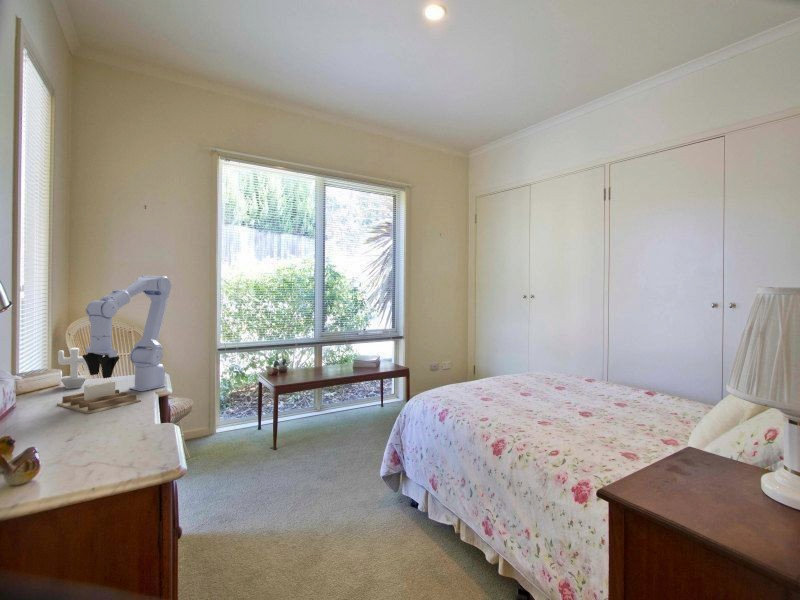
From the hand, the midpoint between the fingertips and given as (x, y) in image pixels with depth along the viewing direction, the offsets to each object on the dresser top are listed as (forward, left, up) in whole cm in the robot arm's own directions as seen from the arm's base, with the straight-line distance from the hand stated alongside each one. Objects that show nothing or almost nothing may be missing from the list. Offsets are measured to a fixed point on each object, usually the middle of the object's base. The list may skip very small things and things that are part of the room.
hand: (100, 376), depth 130 cm
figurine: (-6, -29, -9) cm, 32 cm away
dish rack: (0, 0, -9) cm, 9 cm away
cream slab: (0, 0, -8) cm, 9 cm away
